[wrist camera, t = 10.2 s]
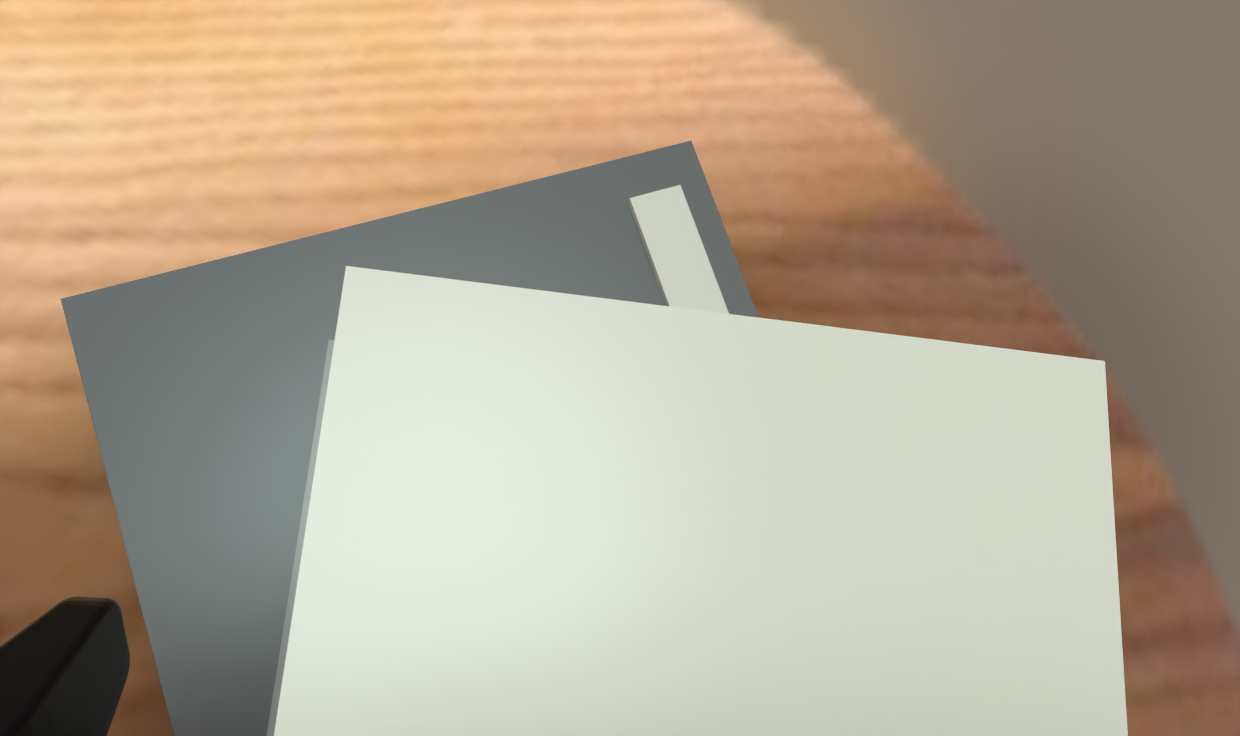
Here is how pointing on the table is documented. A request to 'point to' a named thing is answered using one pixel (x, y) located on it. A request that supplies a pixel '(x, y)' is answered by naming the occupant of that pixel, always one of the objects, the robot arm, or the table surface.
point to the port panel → (261, 391)
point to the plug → (696, 527)
